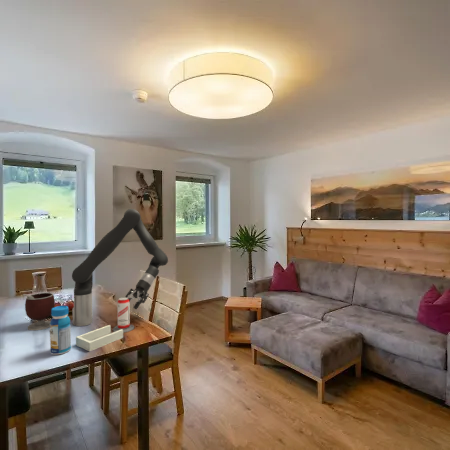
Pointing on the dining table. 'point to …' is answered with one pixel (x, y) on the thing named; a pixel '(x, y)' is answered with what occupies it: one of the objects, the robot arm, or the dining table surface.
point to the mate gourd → (39, 309)
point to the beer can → (123, 313)
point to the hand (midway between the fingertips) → (129, 307)
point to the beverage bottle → (60, 331)
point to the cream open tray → (89, 345)
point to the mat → (124, 329)
